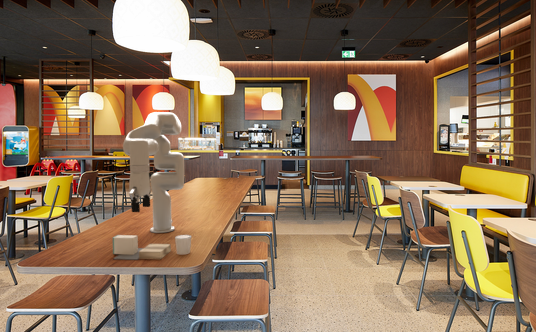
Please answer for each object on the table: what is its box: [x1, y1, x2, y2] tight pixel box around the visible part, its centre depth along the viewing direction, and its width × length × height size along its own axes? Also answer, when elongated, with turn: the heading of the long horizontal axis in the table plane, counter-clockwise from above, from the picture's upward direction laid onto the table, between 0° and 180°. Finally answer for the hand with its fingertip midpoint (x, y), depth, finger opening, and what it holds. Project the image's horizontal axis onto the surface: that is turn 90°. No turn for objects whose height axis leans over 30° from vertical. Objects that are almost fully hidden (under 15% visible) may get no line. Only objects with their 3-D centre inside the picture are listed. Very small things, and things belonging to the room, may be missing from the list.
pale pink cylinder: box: [174, 234, 192, 256], centre depth 145 cm, size 7×7×7 cm
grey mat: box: [113, 247, 144, 261], centre depth 143 cm, size 14×10×1 cm
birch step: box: [138, 243, 172, 260], centre depth 142 cm, size 11×9×3 cm
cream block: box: [112, 234, 139, 255], centre depth 143 cm, size 4×7×9 cm
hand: (141, 209), depth 142 cm, fingers open, 9 cm apart
